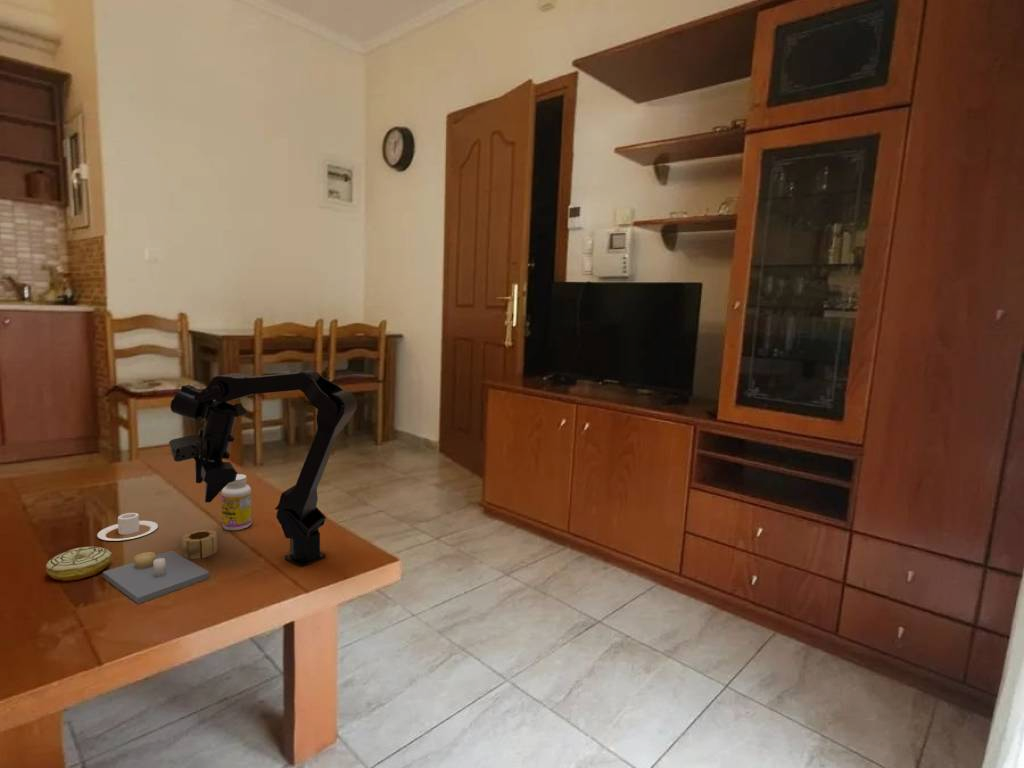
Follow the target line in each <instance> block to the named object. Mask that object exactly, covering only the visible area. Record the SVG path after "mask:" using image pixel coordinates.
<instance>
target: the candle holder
mask: <svg viewBox="0 0 1024 768" xmlns="http://www.w3.org/2000/svg"><path fill="white" fill-rule="evenodd" d="M140 526H146V527H148V528H149V530H147V531H146V532H143V533H141V534H139V535H135V536H131V537H125V538H124V537H123V538H111V537H107V534H108V533H110V532H111V531H113V530H116V529H117V530H118V531H117V532H118V534H119V535H123V536H127V535H132V534H136V533H138V532H139V531H140ZM158 527H159V524H158V523H157V522H154V521H151V520H140V515H139V513H137V512H126V513H123V514H120V515H118V517H117V524H111V525H110V526H106V527H105V528H103V529H101V530H100V531H99V532H98V533H97V534H96V537H97V538H98V539H100V540H103V541H109V542H110V541H111V542H112V541H113V542H114V541H115V542H121V541H128V540H133V539H137V538H140V537H145V536H146V535H149V534H151V533H153V532H155V531H156V530H157V529H158Z"/></svg>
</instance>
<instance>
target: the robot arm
mask: <svg viewBox="0 0 1024 768" xmlns="http://www.w3.org/2000/svg"><path fill="white" fill-rule="evenodd" d="M289 391H301V392H302V393H303V394H304V395H305V397H306V399H307V400H308V401H309V403H310V404H311V405H312V406H313V407H314V408H315V409H317V411H316V416H315V420H316V431H315V433H314V437H313V439H312V442H311V445H310V447H309V450H308V453H307V455H306V457H305V460H304V462H303V465H302V467H301V470H300V473H299V475H298V477H297V479H296V480H297V481H296V482H295V485H293V486H291V487H290V488H288V489H286V490H285V491H283V492H281V495H280V498H279V501H278V504H277V506H276V507H275V508H274V510H276V519H277V522H278V523H279V524H280V526H281V529H282V531H283V535H284V537H285V539H289V542H290V545H289V546H290V547H289V548H290V549H289V551H290V553H289V554H286V555H284V559H285V560H287V561H289V562H291V563H293V564H295V565H297V566H299V567H305V566H307V565H310V564H311V563H314V562H316V561H318V560H322V559H324V558H326V557H327V554H326V553H324V552H323V551H322V552H321V532H319V531H320V528H321V527H322V526H324V525H325V522H326V519H327V516H325V514H324V513H323V512H322V511H321V510H320V509H319V508H318V507H317V504H318V488H319V484H320V483H321V480H322V476H323V474H324V472H325V468H326V466H327V464H328V461H329V459H330V457H331V454H332V451H333V449H334V447H335V445H336V441H337V439H338V436H339V435H340V432H341V431H342V430H343V429H344V427H346V425H347V424H348V423H349V421H351V418H352V416H353V415H354V414H355V412H356V410H357V408H358V401H357V399H356V397H355V395H354V393H351V391H348V390H344V389H343V388H342V387H340V386H339V385H338V384H336V383H334V382H333V381H331V380H329V379H327V378H325V377H324V376H323V375H321V374H320V373H319V372H317V371H316V370H313V369H310V370H304V371H297V372H288V373H287V372H285V373H277V374H267V375H254V374H249V373H239V372H238V373H237V372H234V373H227V374H222V375H217V376H214V377H212V378H211V380H210V381H209V385H208V386H207V387H205V388H204V389H203V390H202V389H199V388H197V387H195V386H193V385H191V384H184V385H182V386H181V388H180V390H179V391H178V392H177V393H176V394H175V395H174V397H173V399H171V401H170V411H171V412H172V413H174V414H176V415H179V416H181V417H183V418H187V419H190V420H192V421H195V422H201V421H203V420H205V421H204V425H203V427H200V428H199V429H198V431H197V434H193V435H187V436H183V437H182V436H181V437H178V438H174V439H170V440H169V441H168V444H169V449H170V453H171V454H170V455H171V457H172V458H173V461H174V462H182V461H187V460H191V459H193V460H194V471H195V473H194V475H195V482H196V483H195V484H202V483H205V491H204V493H205V494H204V502H205V503H212V501H213V500H214V499H215V498H216V497H217V496H218V495H219V494H220V492H222V490H223V488H224V487H226V486H227V484H228V483H230V482H234V481H235V480H236V476H237V474H238V471H237V470H236V468H235V467H234V465H233V464H232V463H231V461H223V459H225V460H226V459H227V460H228V459H230V452H229V448H230V447H229V446H230V443H234V439H235V436H234V435H233V432H234V426H235V424H236V423H235V422H236V418H239V417H242V416H245V415H248V410H247V409H246V408H245V407H244V406H243V403H241V402H240V403H235V404H234V403H232V402H231V403H230V401H234V400H239V399H242V398H245V397H249V396H253V395H256V394H257V395H258V394H269V393H270V394H271V393H280V392H289Z"/></svg>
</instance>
